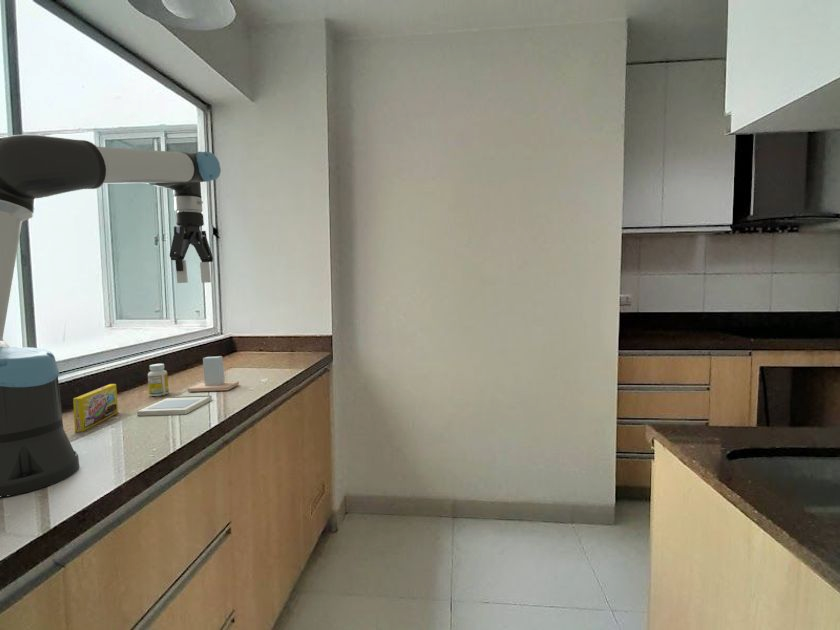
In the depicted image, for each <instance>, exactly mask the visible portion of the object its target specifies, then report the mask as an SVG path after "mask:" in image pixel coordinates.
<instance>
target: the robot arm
mask: <svg viewBox="0 0 840 630" xmlns="http://www.w3.org/2000/svg"><path fill="white" fill-rule="evenodd" d="M221 171H222V169H221V165H220V161H219V159H218V158H217V156H216V155H215V154H214V153H212V152H210V151H198V152H180V151H169V150H168V151H166V150H165V151H164V150H154V149H153V150H150V149H141V148H139V149H137V148H125V147H124V148H122V147H107V146H97V144H96V145H95V144H94V143H93V142H91V141H89V140H85V139H83V140H82V139H73V138H64V137H56V136H49V135H47V136H46V135H38V134H37V135H36V134H27V133H26V134H14V135H13V134H12V135H8V136H4V137H0V496H7V495H12V496H15V495H14V494H17V495H20V494H24V493H30V492H31V491H32V492H33V491H35V490H36V491H37V490H40V489H43V488H45V487H48V486H50V485H53V484H56V483H59V482H61V481H62V480H65V479H66V478H69V477H70V476H72V475H73V474H75V473H76V472H78V470H79V469H80V459H79V454H78V453H77V451H76V450H74V448H73V446H72V443H71V442H70V439H69V437H68V436H67V433H66V431H65V429H64V422H63V414H62V413H63V412H62V403H61V393H60V383H59V374H60V373H59V372H60V371H59V368H58V365H57V360H56V357H55V355H54V354H53V353H52V352H51V351H49V350H47V349H45V348H38V347H30V346H29V347H28V346H26V347H25V346H23V347H17V346H16V347H12V346H9V344H8V343H7V342H6V341H4V339H3V338H4V332H5V326H6V320H7V313H8V307H9V302H10V298H11V290H12V284H13V279H14V278H13V277H14V272H15V267H16V260H17V255H18V254H17V253H18V249H19V242H20V236H21V235H20V234H21V230H22V225H23V224H22V223H23V222H25V221H27V220H29V219H32V218H33V217H34V213H35V205H36V200H37V199H42V198H47V197H51V196H57V195H61V194H65V193H69V192H74V191H75V192H76V191H82V190H95V189H99V188H101V187H102V186H103V185H111V184H118V185H119V184H147V185H149V186H152V187H159V188H163V189H167V190H171V191H173V201H174V202H173V203H174V211H175V212H176V213H175V224H176V226H175V225H174V226H173V237H172V240H171V247H170V251H169V258H170V260H171V261H174V262H175V272H176V273H175V274H176V282H177V284H184V283H185V284H187V283H189V281H188V269H187V260H185V257H186V254H187V252H188V249H189V247H190V245H191V246H193V247H194V248H195V251H196V253H197V255H198V257H199V259H200V261H201V262H199V267H200V277H201V284H202V283H204V284H205V283H207V284H208V283H211V282H212V277H211V265H210V263H212V262H214V258H213V257H214V256H213V253H212V251H211V247H210V244H209V241H208V237H207V231H206V230H201V227H203V226H204V225H205V224H204V223H205V222H204V220H205V219H204V214H203V213H202V212H203V204H204V201H203V199H202V189H201V188H202V187H201V185H202V184H201V183H203V182H205V183H208V182H211V181H215V180H217V179H218V178H219V177H220V176H221ZM7 497H8V496H7Z"/></svg>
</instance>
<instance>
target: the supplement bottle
mask: <svg viewBox="0 0 840 630" xmlns="http://www.w3.org/2000/svg"><path fill="white" fill-rule="evenodd" d="M149 370H150V371H148V373H147V382H148V383H147V384H148V392H149V393H148V394H149V396H150V397H152V396H156V397H162V396H161V395H163V396H166V395H168V394H169V391H170V389H169V377H168V371H167V370H166V369H165V364H164V363H155V364H154V363H153V364H150V365H149ZM165 394H166V395H165Z"/></svg>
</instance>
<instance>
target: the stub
mask: <svg viewBox="0 0 840 630" xmlns="http://www.w3.org/2000/svg"><path fill="white" fill-rule="evenodd" d="M223 361H224V360H223V356H222V355H218V356H217V355H216V356H206V357H202V364H203V365H202V367H203V378H204V382H199V383H197V384H195V385H193V386H190V387H188V388H187V392H188V393H189V392H190V393H191V392H214V391H215V392H217V391H229V390H231V389H233V388H235V387H237V386H239V385H240V381H225V375H224V373H225V372H224V362H223Z"/></svg>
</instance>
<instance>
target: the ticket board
mask: <svg viewBox="0 0 840 630" xmlns="http://www.w3.org/2000/svg"><path fill="white" fill-rule="evenodd" d="M212 400H213V397H212V395H191V396H189V395H187V396H168V397H166V398H164V399H162V400H160V401H156V403H153V404H150V405H148V406H146V407H143V408H142V409H140V410H137V411H136V413H137V416H138V417H142V416H166V415H168V416H169V415H174V416H175V415H176V416H177V415H186V414H188V413H190V412H192V411H195V410H196V409H197V408H199V407H202V406H204V405H205V404H207V403H208V402H211V401H212Z"/></svg>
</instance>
